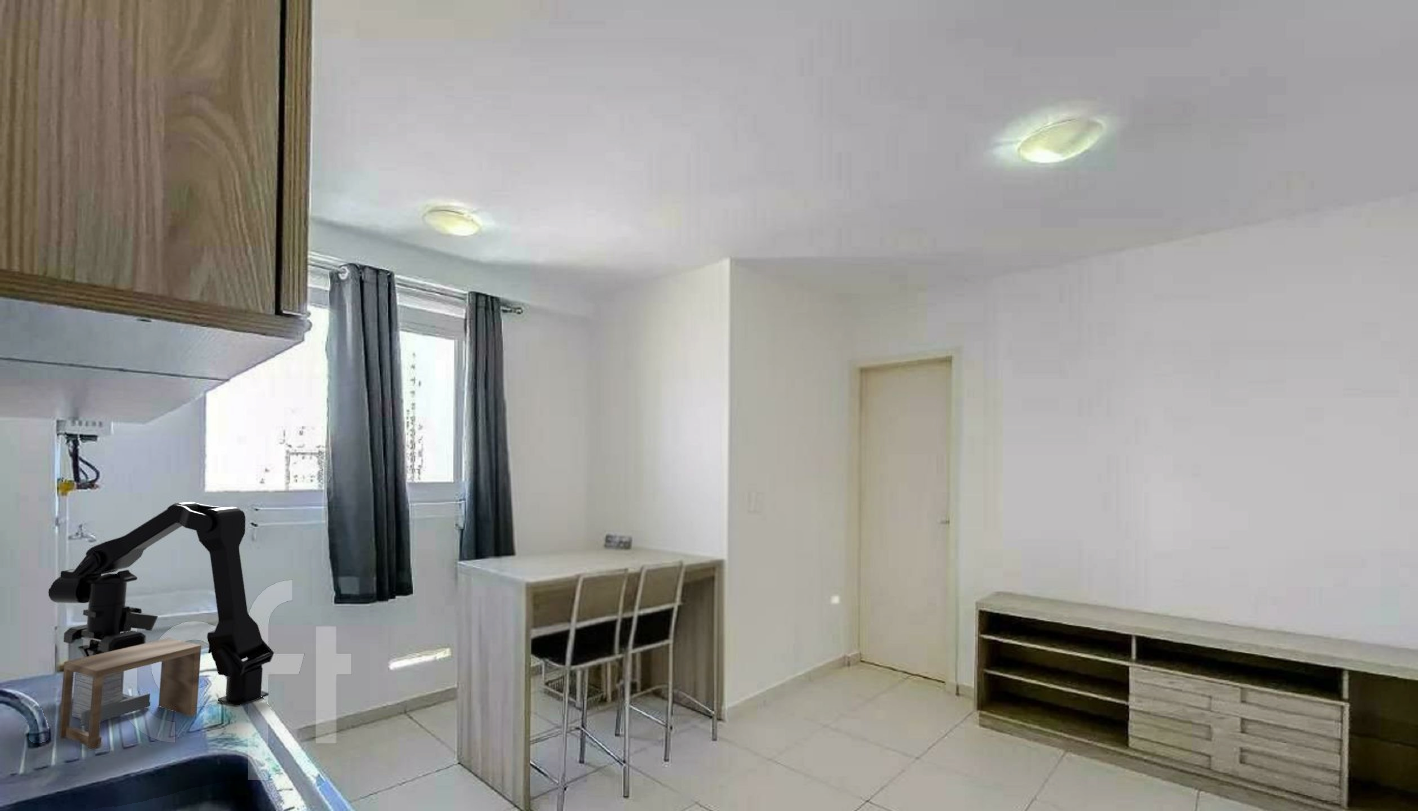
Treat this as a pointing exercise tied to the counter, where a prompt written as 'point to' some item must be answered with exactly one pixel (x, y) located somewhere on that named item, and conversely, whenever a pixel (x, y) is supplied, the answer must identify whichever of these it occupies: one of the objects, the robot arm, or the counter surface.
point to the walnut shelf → (175, 668)
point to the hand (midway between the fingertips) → (101, 679)
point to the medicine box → (84, 691)
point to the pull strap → (119, 708)
